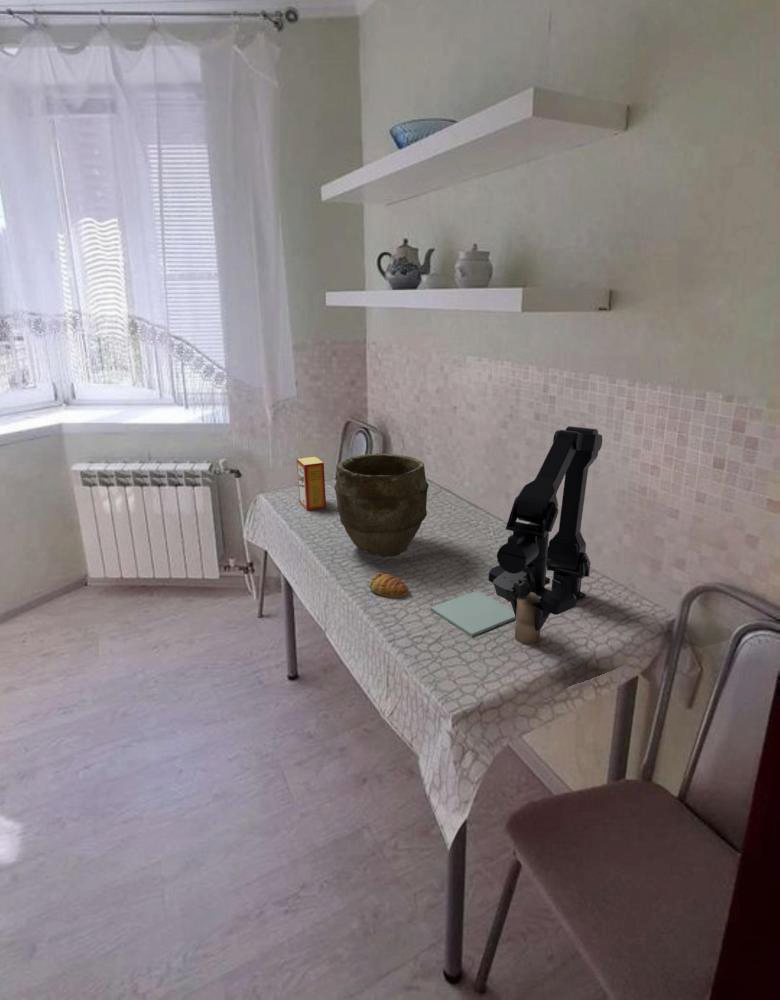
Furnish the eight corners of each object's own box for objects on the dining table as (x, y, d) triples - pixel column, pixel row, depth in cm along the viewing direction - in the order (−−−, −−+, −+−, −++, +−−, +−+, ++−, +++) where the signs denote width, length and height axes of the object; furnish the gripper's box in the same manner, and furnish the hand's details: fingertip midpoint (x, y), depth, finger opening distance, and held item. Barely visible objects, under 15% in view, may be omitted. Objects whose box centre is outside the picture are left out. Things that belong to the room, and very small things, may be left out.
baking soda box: (299, 502, 212) (296, 457, 207) (317, 499, 214) (315, 455, 209) (307, 510, 203) (304, 464, 198) (326, 508, 206) (323, 461, 201)
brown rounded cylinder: (526, 629, 130) (529, 590, 127) (544, 639, 126) (547, 599, 123) (509, 636, 127) (511, 597, 125) (527, 646, 123) (530, 606, 121)
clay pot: (406, 526, 188) (405, 446, 180) (444, 556, 166) (445, 467, 158) (326, 539, 179) (322, 456, 171) (355, 573, 157) (351, 480, 149)
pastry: (414, 591, 148) (414, 577, 146) (398, 603, 142) (398, 588, 141) (382, 582, 153) (382, 568, 152) (366, 592, 148) (365, 578, 146)
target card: (477, 592, 146) (477, 590, 146) (520, 616, 135) (520, 614, 135) (430, 609, 139) (430, 607, 138) (471, 636, 128) (471, 633, 127)
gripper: (469, 549, 124) (467, 617, 129) (539, 582, 109) (534, 658, 114) (509, 536, 130) (506, 602, 135) (581, 566, 115) (574, 639, 120)
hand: (528, 624), depth 126 cm, fingers closed on brown rounded cylinder, 5 cm apart
